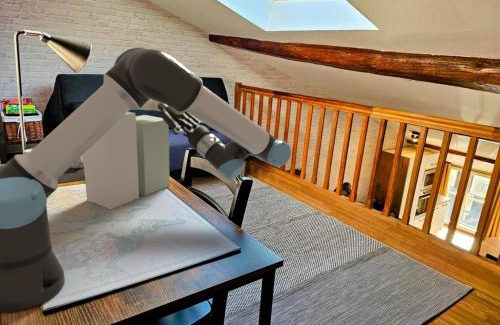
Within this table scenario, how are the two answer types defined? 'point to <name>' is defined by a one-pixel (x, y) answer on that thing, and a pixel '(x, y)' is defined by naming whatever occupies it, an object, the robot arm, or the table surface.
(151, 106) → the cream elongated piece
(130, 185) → the tall stand
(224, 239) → the table surface
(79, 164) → the game die
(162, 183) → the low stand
